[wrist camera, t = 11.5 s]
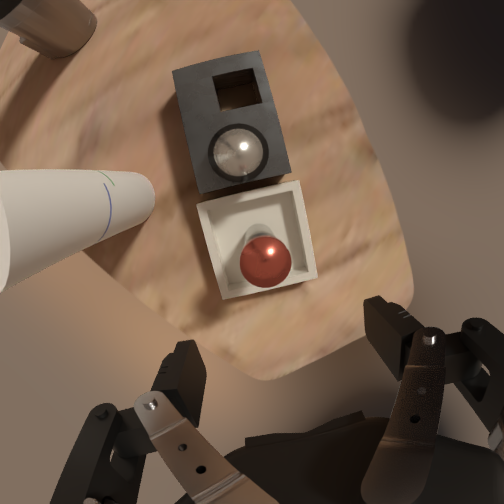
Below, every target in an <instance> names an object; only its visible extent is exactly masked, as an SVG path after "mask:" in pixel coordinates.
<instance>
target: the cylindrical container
mask: <svg viewBox="0 0 504 504" xmlns="http://www.w3.org/2000/svg"><path fill="white" fill-rule="evenodd" d="M154 205H155V192H154V189H153V186H152V184H151V183H150V181H149V180H148V179H147V178H146V177H145V176H143V175H141V174H139V173H135V172H121V171H102V170H66V169H36V170H3V171H0V293H2V292H4V291H5V290H7V289H9V288H10V287H12V286H14V285H16V284H18V283H20V282H21V281H23V280H25V279H27V278H29V277H31V276H32V275H34V274H36V273H38V272H40V271H42V270H44V269H46V268H47V267H49V266H51V265H53V264H55V263H57V262H59V261H61V260H63V259H65V258H67V257H69V256H71V255H73V254H75V253H77V252H79V251H81V250H84V249H86V248H88V247H90V246H92V245H94V244H96V243H98V242H101V241H103V240H105V239H107V238H109V237H111V236H114V235H116V234H118V233H120V232H123V231H125V230H127V229H130V228H132V227H134V226H136V225H139V224H141V223H143V222H144V221H145V220H146V219H148V217H149V216H150V215H151V213H152V211H153V208H154Z"/></svg>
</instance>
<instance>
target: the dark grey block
mask: <svg viewBox="0 0 504 504" xmlns="http://www.w3.org/2000/svg"><path fill="white" fill-rule="evenodd" d="M172 74H173V79H174V84H175V89H176V94H177V98H178V103H179V108H180V113H181V117H182V122H183V126H184V131H185V135H186V139H187V144H188V148H189V152H190V157H191V161H192V165H193V169H194V174H195V178H196V182H197V186H198V190H199V194H203V193H207V192H210V191H214V190H218V189H222V188H226V187H230V186H234V185H238V184H243V183H247V182H251V181H256V180H260V179H264V178H269V177H274V176H278V175H283V174H288V173H292V172H291V168H290V164H289V159H288V155H287V151H286V147H285V143H284V139H283V135H282V131H281V127H280V123H279V119H278V115H277V112H276V108H275V104H274V101H273V97H272V93H271V90H270V86H269V83H268V79H267V76H266V73H265V69H264V66H263V62H262V59H261V56H260V53H259V50H258V51H252V52H247V53H241V54H236V55H231V56H226V57H222V58H218V59H213V60H209V61H205V62H201V63H198V64H194V65H190V66H187V67H184V68H180V69H177V70H174V71H172ZM251 82H252V85H253V89H254V93H255V96H256V100H257V104H255V105H250V106H246V107H241V108H236V109H232V110H228V111H224V112H221V108H220V104H219V100H218V96H217V92H216V90H219V89H223V88H227V87H232V86H236V85H241V84H246V83H251Z"/></svg>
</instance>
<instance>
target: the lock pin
mask: <svg viewBox="0 0 504 504" xmlns="http://www.w3.org/2000/svg"><path fill="white" fill-rule="evenodd" d="M291 265H292V260H291V255H290V252H289V250H288V249H287V247H286V246H285V244H284V243H283V242H282V241H281V240H279V239H278V238H276V237H275V235H274V233H273V232H272V230H271V229H270V228H269V227H268V226H267V225H265V224H260V223H258V224H254V225H252V226H250V227H249V228H248V229H247V231H246V233H245V246H244V247H243V249H242V251H241V255H240V270H241V273H242V275H243V276H244V278H245V279H246V280H247V281H248V282H249V283H251V284H252V285H254V286H257V287H261V288H270V287H274V286H276V285H278V284H280V283H281V282H283V281H284V280H285V279H286V277H287V276H288V274H289V272H290V270H291Z"/></svg>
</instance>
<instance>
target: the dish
mask: <svg viewBox="0 0 504 504" xmlns="http://www.w3.org/2000/svg"><path fill="white" fill-rule="evenodd" d="M196 206H197V209H198V213H199V217H200V221H201V225H202V229H203V232H204V236H205V240H206V243H207V247H208V251H209V254H210V258H211V261H212V265H213V269H214V272H215V276H216V279H217V282H218V286H219V289H220V293H221V296H222V299H223V300H225V299H229V298H234V297H239V296H243V295H248V294H252V293H256V292H261V291H265V290H269V289H274V288H278V287H282V286H286V285H291V284H295V283H299V282H303V281H307V280H311V279H315V278H318V276H317V270H316V264H315V258H314V252H313V247H312V241H311V236H310V231H309V226H308V220H307V215H306V210H305V206H304V201H303V196H302V191H301V187H300V182H299V180H293V181H289V182H284V183H279V184H275V185H270V186H266V187H261V188H257V189H252V190H248V191H244V192H240V193H235V194H231V195H227V196H223V197H219V198H215V199H211V200H208V201H204V202H200V203H198V204H196ZM258 223H260V224H265V225H267V226H268V227H269V228H270V229H271V230H272V232H273V233H274V235H275V237H276V238H278V239H279V240H281V241H282V242H283V243H284V244H285V246H286V247H287V249H288V250H289V252H290V255H291V260H292V265H291V270H290V272H289V274H288V276H287V277H286V279H285V280H284V281H283V282H281V283H280V284H278V285H276V286H274V287H270V288H261V287H257V286H254V285H252V284H251V283H249V282H248V281H247V280H246V279H245V278H244V276H243V275H242V273H241V270H240V255H241V251H242V249H243V247H244V246H245V233H246V231H247V229H248V228H249V227H250V226H252V225H254V224H258Z"/></svg>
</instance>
